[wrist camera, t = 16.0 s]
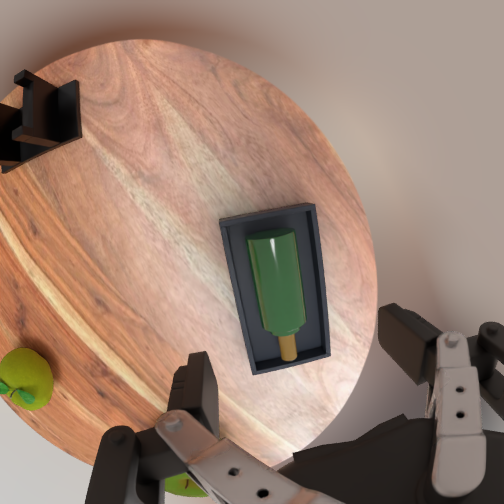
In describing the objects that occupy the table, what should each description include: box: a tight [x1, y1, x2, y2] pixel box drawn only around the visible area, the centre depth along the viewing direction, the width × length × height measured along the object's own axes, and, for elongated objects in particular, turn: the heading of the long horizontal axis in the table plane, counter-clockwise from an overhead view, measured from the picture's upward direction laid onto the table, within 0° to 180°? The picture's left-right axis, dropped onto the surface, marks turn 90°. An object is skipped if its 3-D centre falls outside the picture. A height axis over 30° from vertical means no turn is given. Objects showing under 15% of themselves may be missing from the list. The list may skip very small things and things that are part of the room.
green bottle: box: [245, 228, 307, 361], centre depth 30 cm, size 15×5×5 cm, turn 10°
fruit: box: [0, 348, 53, 411], centre depth 27 cm, size 9×9×10 cm
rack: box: [0, 69, 82, 173], centre depth 21 cm, size 14×8×9 cm, turn 100°
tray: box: [219, 203, 331, 375], centre depth 32 cm, size 19×10×3 cm, turn 10°
